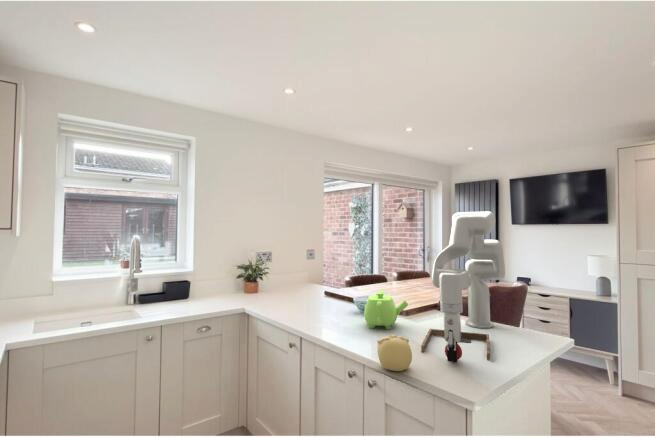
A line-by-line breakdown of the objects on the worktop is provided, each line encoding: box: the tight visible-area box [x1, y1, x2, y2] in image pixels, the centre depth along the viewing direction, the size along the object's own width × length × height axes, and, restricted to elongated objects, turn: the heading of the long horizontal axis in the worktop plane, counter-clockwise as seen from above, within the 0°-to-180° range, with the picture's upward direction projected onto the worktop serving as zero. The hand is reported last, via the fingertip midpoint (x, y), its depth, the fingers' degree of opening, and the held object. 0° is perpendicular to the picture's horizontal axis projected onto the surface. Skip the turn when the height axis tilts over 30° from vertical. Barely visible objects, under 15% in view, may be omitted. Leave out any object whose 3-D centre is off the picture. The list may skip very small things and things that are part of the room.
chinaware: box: [353, 295, 371, 314], centre depth 198 cm, size 15×15×8 cm
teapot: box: [363, 289, 409, 330], centre depth 172 cm, size 25×22×16 cm
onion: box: [444, 340, 463, 361], centre depth 123 cm, size 6×6×8 cm
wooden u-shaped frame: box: [420, 328, 491, 361], centre depth 139 cm, size 23×24×2 cm
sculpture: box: [377, 334, 413, 372], centre depth 120 cm, size 12×12×11 cm
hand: (453, 357), depth 123 cm, fingers closed on onion, 5 cm apart
